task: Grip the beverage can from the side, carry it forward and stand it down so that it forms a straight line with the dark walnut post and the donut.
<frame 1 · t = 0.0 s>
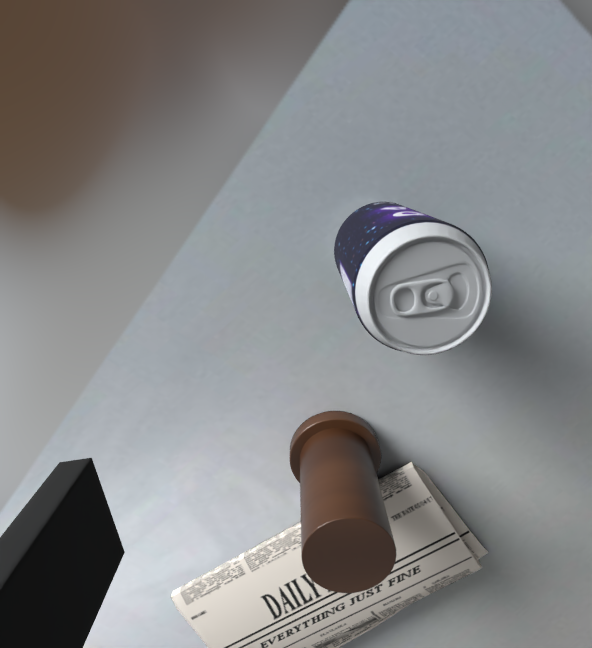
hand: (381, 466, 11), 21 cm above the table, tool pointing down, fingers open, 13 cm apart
newspaper: (332, 573, 39), on the table
beverage can: (377, 246, 30), on the table
walnut post: (334, 449, 35), on the table
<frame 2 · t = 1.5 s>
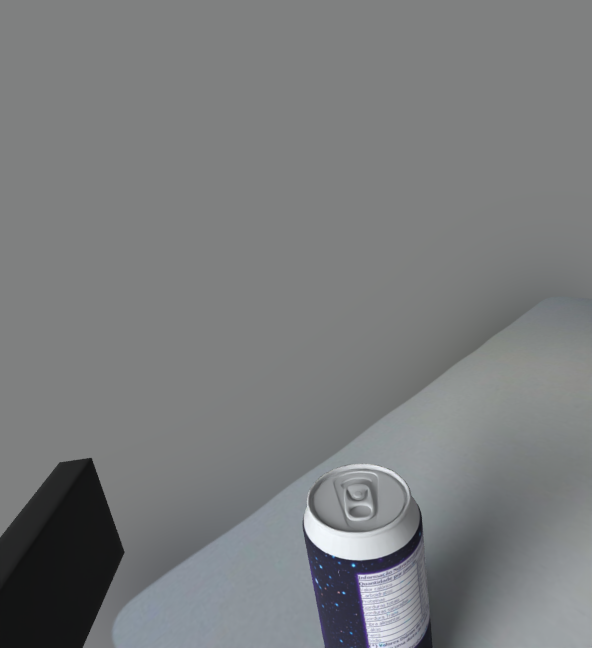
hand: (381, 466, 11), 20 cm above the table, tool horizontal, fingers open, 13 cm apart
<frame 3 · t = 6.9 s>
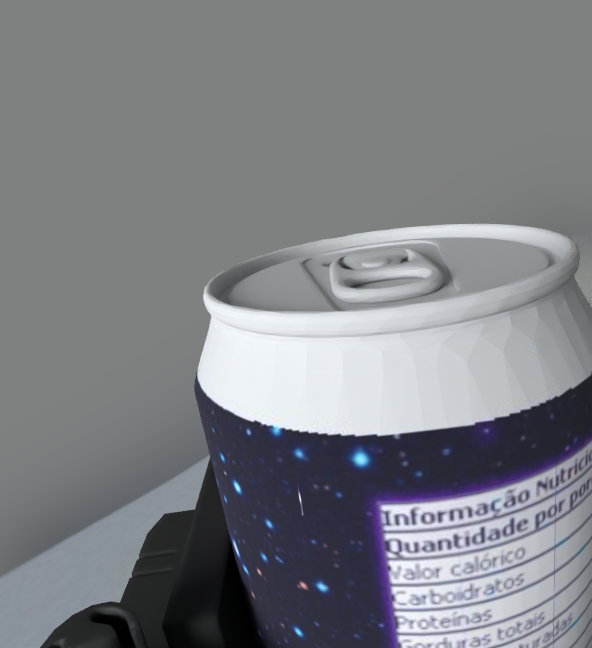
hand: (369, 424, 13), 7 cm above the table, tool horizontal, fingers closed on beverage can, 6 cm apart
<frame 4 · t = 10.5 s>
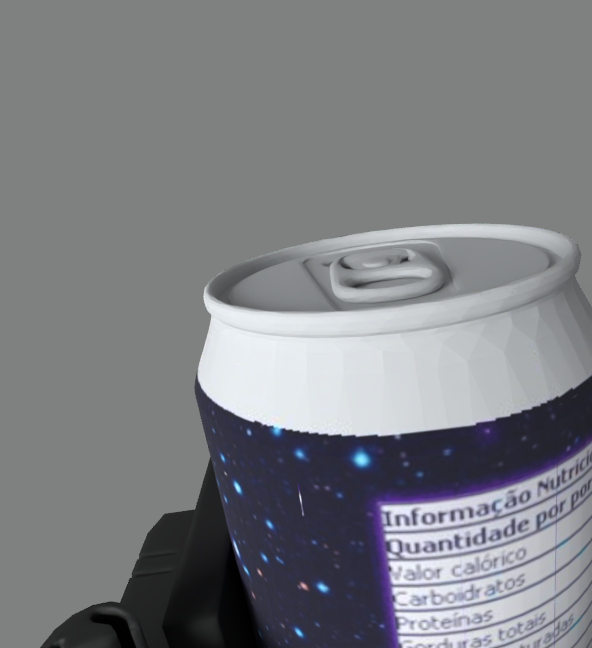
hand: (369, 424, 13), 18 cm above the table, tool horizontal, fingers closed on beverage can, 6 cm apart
when the fingers open (7 cm above the table, at t = 14.1 s): beverage can stays where it is, on the table.
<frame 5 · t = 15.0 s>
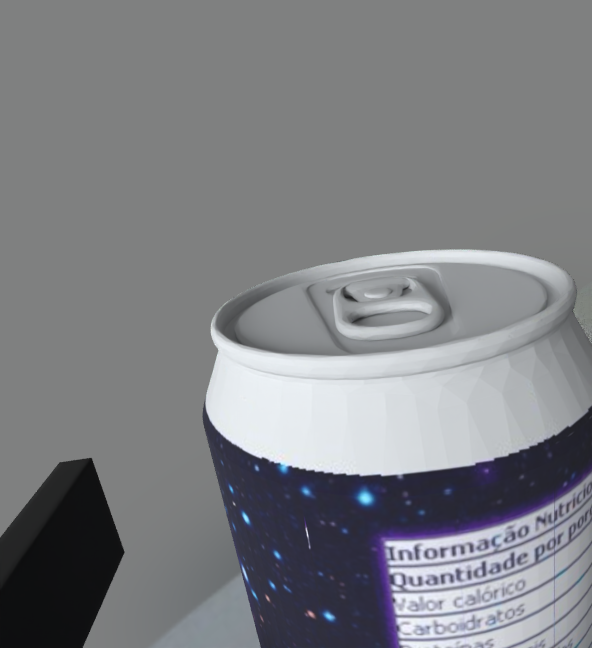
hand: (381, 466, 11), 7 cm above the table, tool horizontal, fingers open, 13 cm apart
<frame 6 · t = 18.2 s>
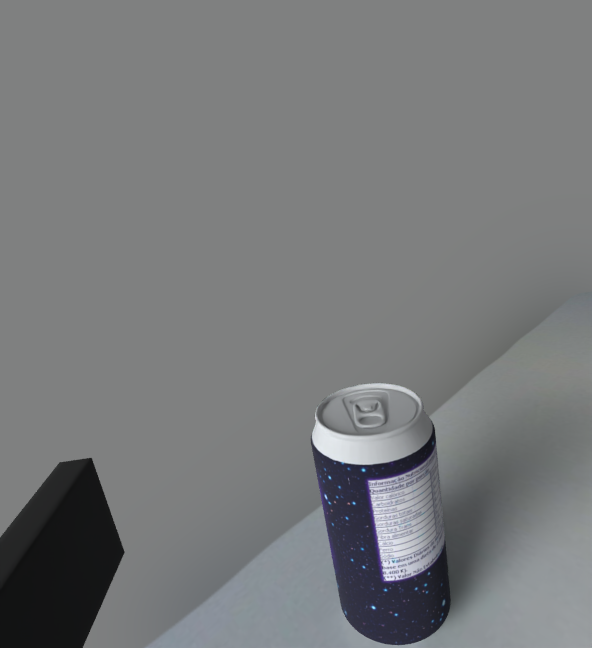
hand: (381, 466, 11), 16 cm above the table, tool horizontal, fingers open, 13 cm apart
beverage can: (396, 609, 26), on the table
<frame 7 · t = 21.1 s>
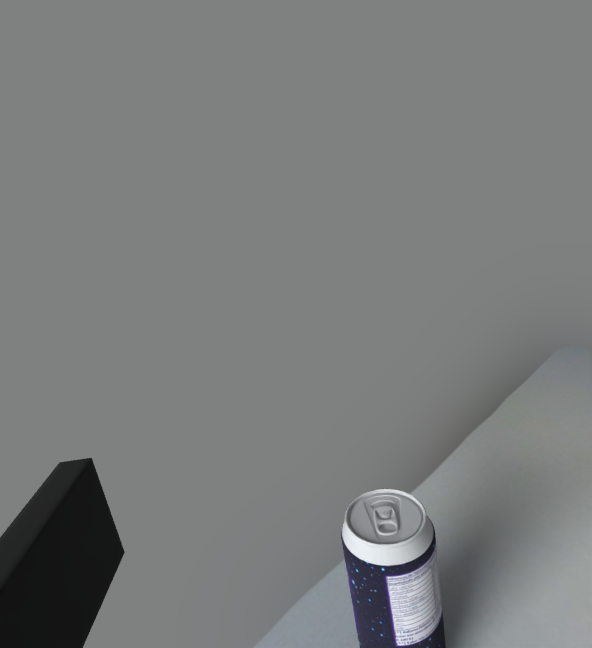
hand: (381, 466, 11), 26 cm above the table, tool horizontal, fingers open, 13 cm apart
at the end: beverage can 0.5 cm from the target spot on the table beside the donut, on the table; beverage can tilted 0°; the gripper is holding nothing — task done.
